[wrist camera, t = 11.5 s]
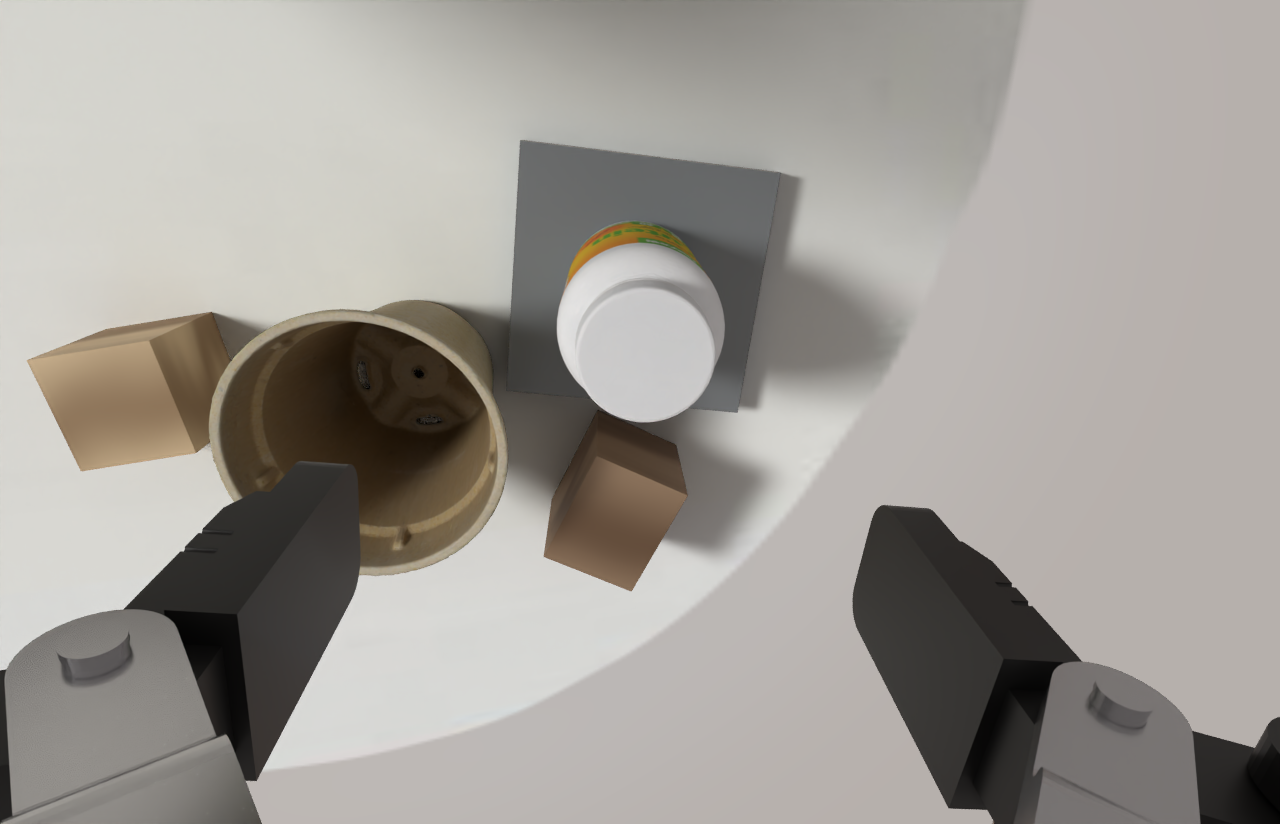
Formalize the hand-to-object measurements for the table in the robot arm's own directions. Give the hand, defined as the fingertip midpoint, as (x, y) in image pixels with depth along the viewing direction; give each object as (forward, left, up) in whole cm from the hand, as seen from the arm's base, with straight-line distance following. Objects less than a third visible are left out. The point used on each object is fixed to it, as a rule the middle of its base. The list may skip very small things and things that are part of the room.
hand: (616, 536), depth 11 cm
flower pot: (+5, -8, -21) cm, 23 cm away
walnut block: (+9, +1, -21) cm, 22 cm away
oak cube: (+6, -18, -21) cm, 28 cm away
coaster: (0, +1, -20) cm, 20 cm away
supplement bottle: (0, +1, -19) cm, 19 cm away
